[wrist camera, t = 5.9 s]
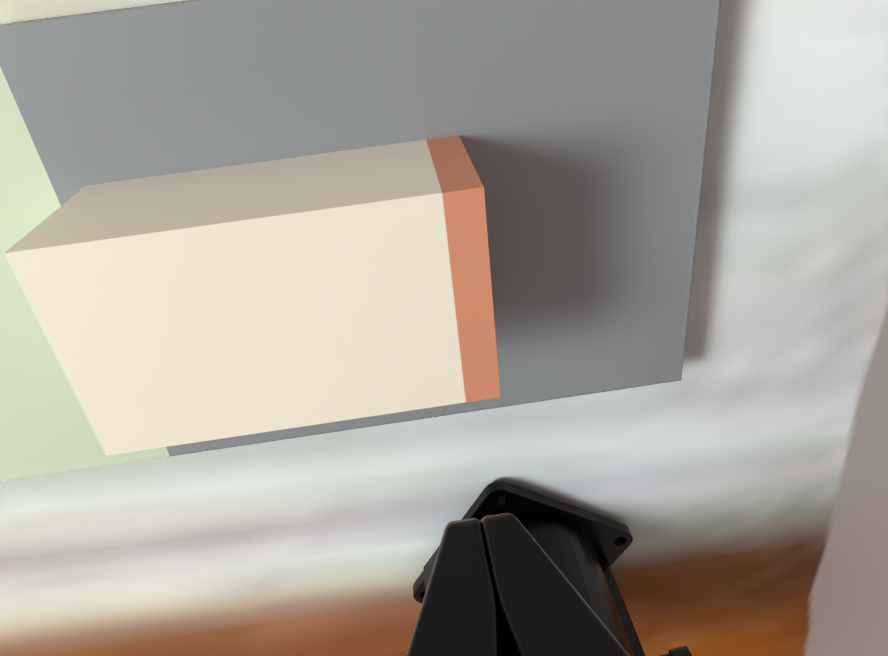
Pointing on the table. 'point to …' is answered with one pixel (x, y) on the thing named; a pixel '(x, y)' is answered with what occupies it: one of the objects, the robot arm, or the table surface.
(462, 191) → the cream block
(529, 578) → the robot arm
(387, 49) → the board
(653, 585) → the table surface
